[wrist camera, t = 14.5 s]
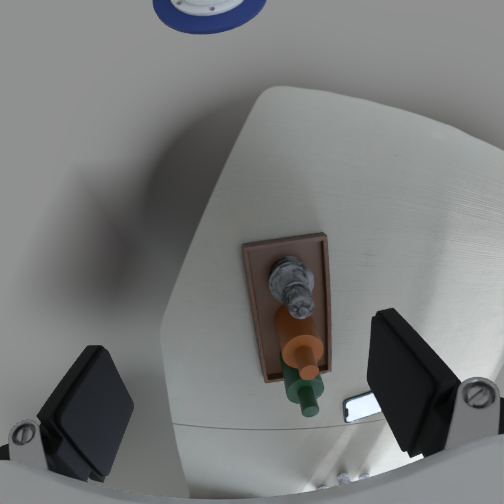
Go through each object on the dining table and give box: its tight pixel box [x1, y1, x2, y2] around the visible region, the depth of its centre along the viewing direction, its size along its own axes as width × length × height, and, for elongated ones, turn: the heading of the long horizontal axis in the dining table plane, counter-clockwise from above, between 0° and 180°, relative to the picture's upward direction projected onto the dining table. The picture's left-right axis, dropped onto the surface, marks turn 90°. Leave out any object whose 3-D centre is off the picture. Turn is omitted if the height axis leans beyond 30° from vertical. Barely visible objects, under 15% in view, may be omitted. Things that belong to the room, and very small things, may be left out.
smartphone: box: [344, 392, 382, 423], centre depth 48 cm, size 8×1×16 cm
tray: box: [242, 232, 332, 383], centre depth 41 cm, size 23×11×2 cm, turn 9°
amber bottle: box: [275, 305, 324, 380], centre depth 35 cm, size 5×5×13 cm
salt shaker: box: [269, 256, 314, 319], centre depth 34 cm, size 6×6×12 cm
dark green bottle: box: [280, 352, 324, 417], centre depth 37 cm, size 5×5×13 cm
